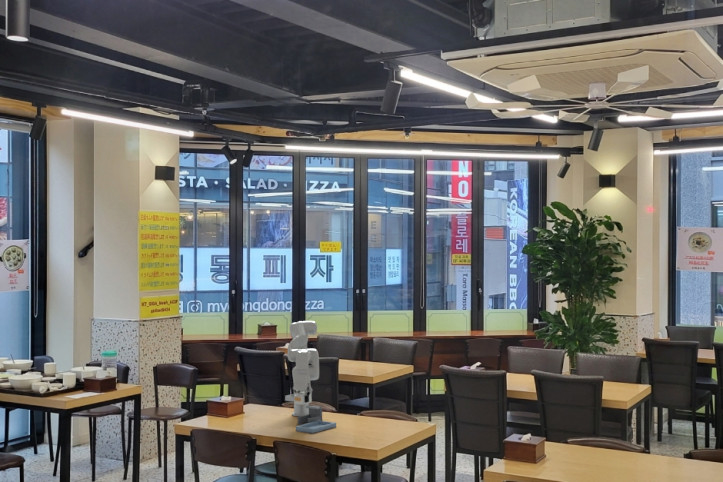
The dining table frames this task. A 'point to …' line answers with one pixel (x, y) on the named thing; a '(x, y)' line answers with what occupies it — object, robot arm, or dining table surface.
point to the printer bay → (311, 415)
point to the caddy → (298, 398)
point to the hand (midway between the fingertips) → (302, 401)
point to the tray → (315, 426)
